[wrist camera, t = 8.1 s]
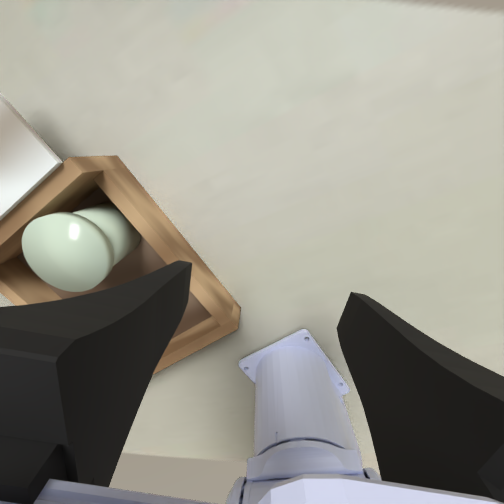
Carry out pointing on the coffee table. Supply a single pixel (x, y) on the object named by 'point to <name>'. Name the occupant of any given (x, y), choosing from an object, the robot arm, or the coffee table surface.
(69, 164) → the cold frame
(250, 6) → the coffee table surface
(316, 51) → the coffee table surface
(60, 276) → the mint green knob
